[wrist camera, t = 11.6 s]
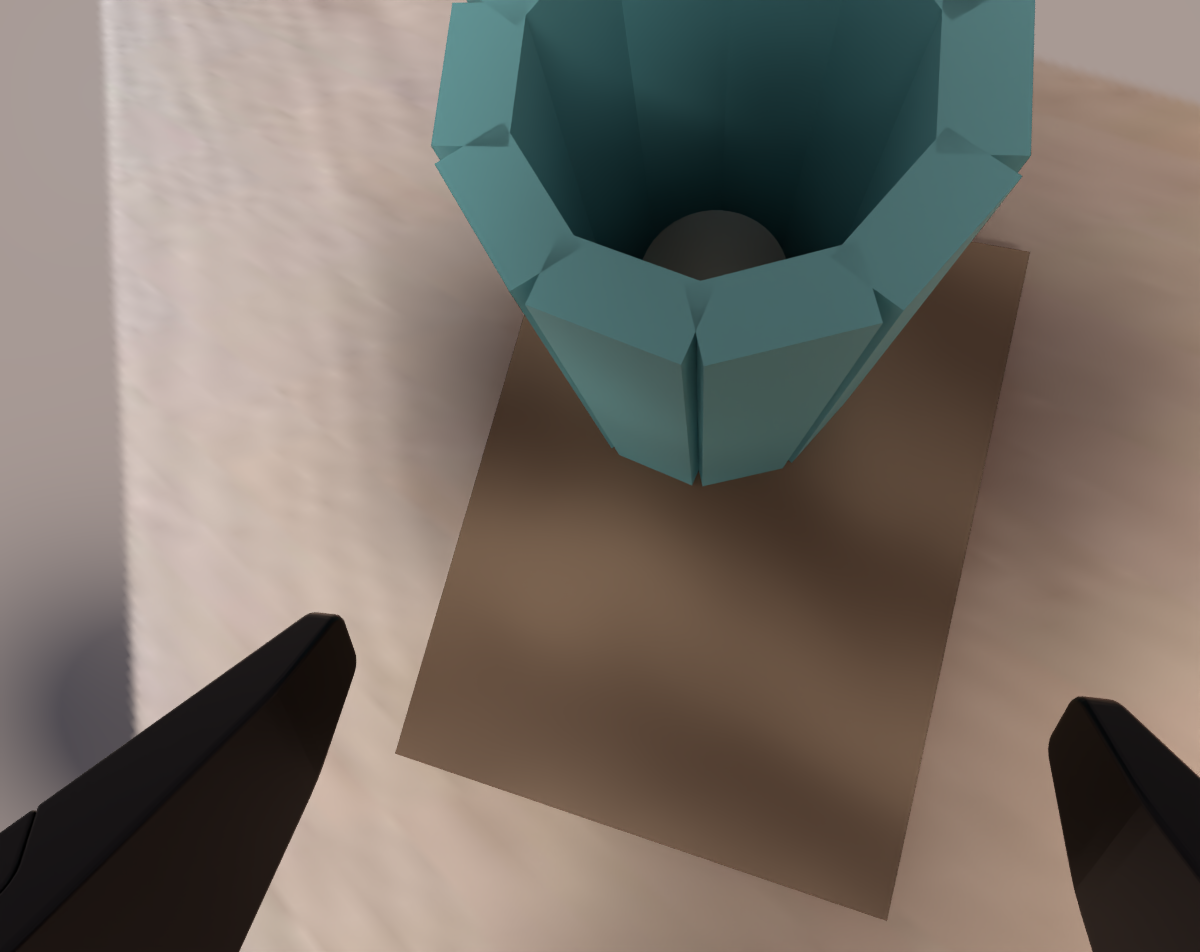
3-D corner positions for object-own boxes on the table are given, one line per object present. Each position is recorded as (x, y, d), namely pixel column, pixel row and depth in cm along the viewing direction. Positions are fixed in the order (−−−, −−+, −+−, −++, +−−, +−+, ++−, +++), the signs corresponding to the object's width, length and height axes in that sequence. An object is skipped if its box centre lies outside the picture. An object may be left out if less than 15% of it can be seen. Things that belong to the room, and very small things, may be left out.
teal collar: (891, 444, 17) (1132, 262, 8) (599, 509, 18) (481, 420, 8) (816, 186, 19) (944, -255, 9) (547, 257, 19) (389, -77, 10)
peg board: (877, 905, 17) (947, 1029, 12) (408, 746, 19) (309, 800, 14) (1015, 266, 18) (1123, 156, 14) (572, 185, 21) (533, 65, 16)
